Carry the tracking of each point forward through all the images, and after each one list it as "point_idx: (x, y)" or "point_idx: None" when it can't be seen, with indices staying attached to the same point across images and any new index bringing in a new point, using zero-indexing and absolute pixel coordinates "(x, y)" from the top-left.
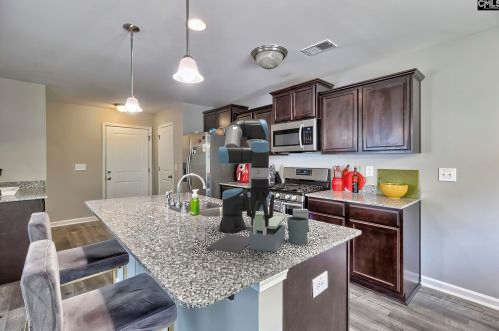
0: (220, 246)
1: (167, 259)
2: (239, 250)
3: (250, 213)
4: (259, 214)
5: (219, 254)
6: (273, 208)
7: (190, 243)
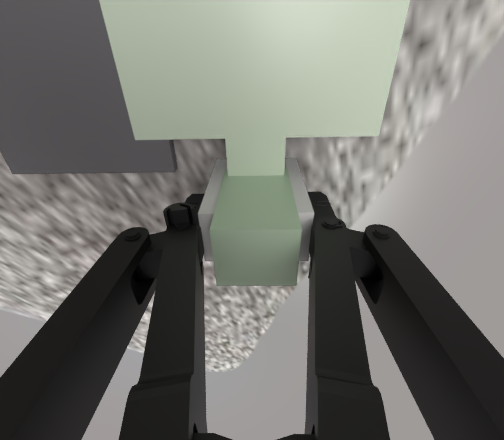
0: (47, 135)
1: (6, 276)
2: (160, 151)
3: (148, 260)
4: (242, 238)
5: (104, 192)
6: (447, 308)
7: None
